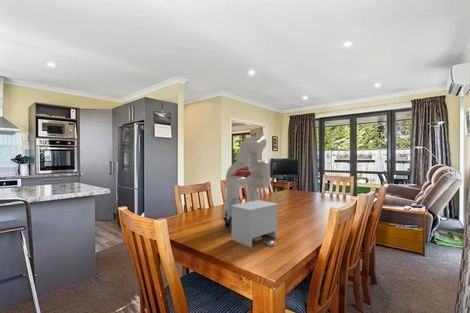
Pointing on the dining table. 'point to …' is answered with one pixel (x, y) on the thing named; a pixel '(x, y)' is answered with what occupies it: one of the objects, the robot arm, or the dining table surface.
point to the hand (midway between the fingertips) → (232, 226)
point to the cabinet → (253, 221)
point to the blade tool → (231, 230)
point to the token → (270, 243)
